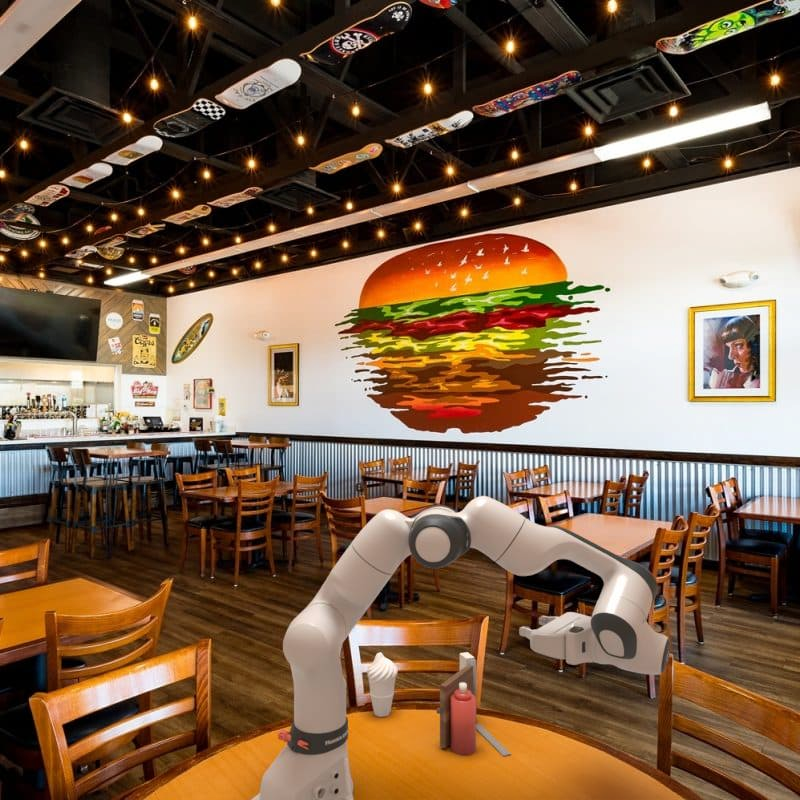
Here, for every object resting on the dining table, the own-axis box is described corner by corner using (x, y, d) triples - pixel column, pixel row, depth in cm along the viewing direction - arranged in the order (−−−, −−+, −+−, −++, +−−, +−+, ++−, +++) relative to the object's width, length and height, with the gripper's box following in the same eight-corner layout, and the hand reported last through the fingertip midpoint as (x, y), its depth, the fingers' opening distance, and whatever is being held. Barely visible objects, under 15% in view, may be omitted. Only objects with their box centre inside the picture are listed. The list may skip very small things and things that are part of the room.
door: (434, 744, 146) (434, 683, 146) (462, 719, 158) (462, 663, 159) (445, 748, 144) (445, 686, 145) (473, 722, 157) (473, 665, 157)
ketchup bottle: (477, 755, 142) (477, 689, 143) (451, 755, 142) (451, 689, 143) (473, 741, 148) (473, 678, 149) (449, 742, 148) (449, 678, 149)
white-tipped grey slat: (502, 756, 142) (502, 687, 142) (459, 713, 163) (459, 653, 163) (511, 754, 142) (511, 685, 143) (467, 712, 163) (467, 652, 164)
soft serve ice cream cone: (403, 711, 164) (403, 651, 165) (386, 724, 157) (386, 661, 158) (377, 703, 169) (377, 645, 169) (360, 715, 162) (360, 654, 162)
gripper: (607, 612, 138) (550, 600, 147) (569, 636, 122) (508, 621, 131) (607, 640, 138) (550, 627, 146) (570, 667, 122) (508, 651, 131)
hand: (530, 624), depth 139 cm, fingers open, 8 cm apart
